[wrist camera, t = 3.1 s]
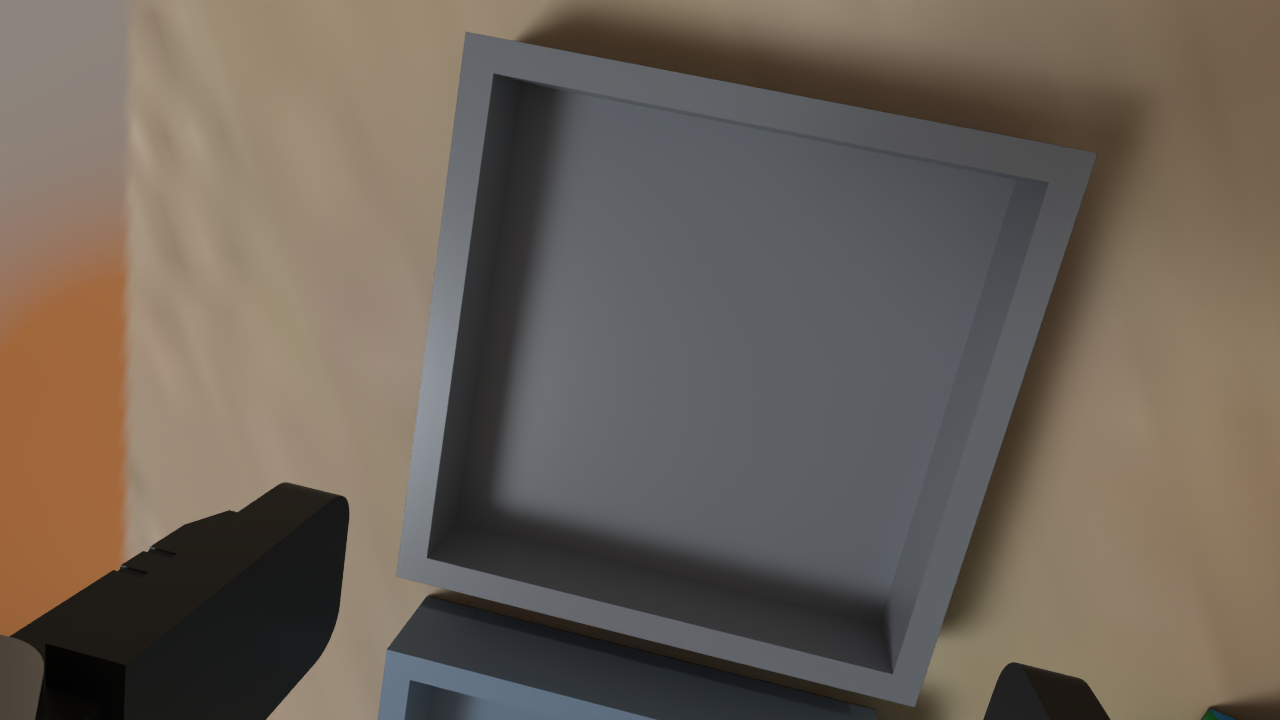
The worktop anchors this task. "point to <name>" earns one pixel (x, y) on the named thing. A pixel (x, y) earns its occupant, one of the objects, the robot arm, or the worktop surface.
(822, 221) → the charcoal tray
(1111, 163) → the worktop surface
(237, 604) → the robot arm
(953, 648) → the worktop surface
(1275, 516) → the worktop surface
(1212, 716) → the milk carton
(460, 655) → the slate-blue tray
